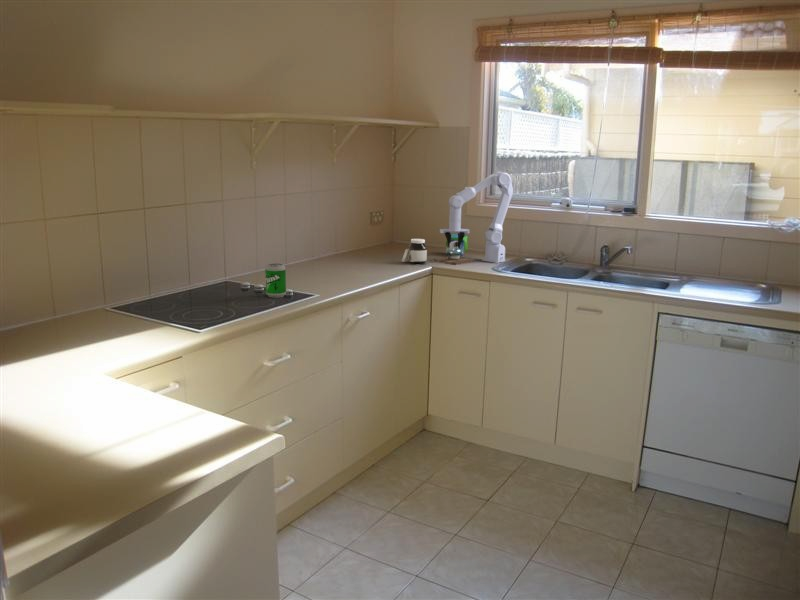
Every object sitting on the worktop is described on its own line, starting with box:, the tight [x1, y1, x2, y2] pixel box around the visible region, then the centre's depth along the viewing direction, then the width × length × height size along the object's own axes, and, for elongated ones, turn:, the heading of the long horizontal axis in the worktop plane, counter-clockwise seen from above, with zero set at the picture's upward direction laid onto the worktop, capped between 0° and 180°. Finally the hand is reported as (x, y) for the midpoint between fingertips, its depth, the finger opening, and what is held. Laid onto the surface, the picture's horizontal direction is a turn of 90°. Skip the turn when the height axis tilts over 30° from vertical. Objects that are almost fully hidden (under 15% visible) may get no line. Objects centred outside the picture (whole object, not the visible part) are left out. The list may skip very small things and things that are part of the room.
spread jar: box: [401, 238, 428, 265], centre depth 336 cm, size 12×11×12 cm
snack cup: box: [445, 234, 469, 257], centre depth 362 cm, size 16×10×10 cm
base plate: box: [433, 254, 474, 265], centre depth 344 cm, size 14×14×4 cm
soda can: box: [264, 262, 287, 298], centre depth 262 cm, size 8×8×12 cm
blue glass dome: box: [445, 241, 462, 256], centre depth 343 cm, size 9×8×6 cm
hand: (454, 247), depth 343 cm, fingers closed on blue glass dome, 4 cm apart
